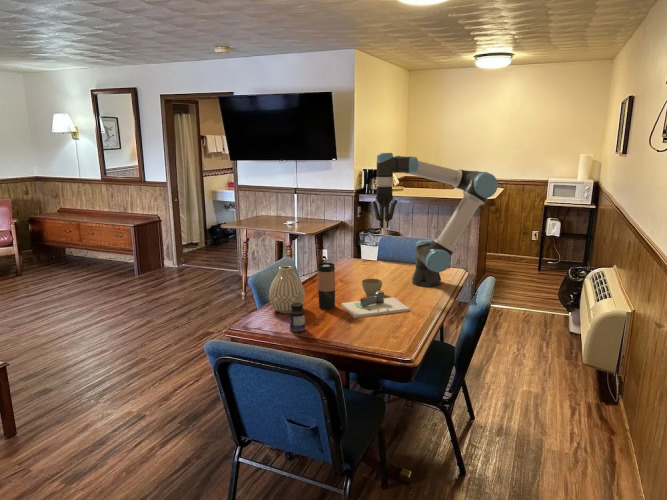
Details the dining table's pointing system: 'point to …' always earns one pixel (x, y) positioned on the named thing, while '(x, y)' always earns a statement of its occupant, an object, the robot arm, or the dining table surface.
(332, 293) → the travel mug
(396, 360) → the dining table surface
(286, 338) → the dining table surface
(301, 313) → the pill bottle
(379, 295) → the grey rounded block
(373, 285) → the flower pot
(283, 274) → the vase
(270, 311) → the dining table surface
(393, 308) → the board
